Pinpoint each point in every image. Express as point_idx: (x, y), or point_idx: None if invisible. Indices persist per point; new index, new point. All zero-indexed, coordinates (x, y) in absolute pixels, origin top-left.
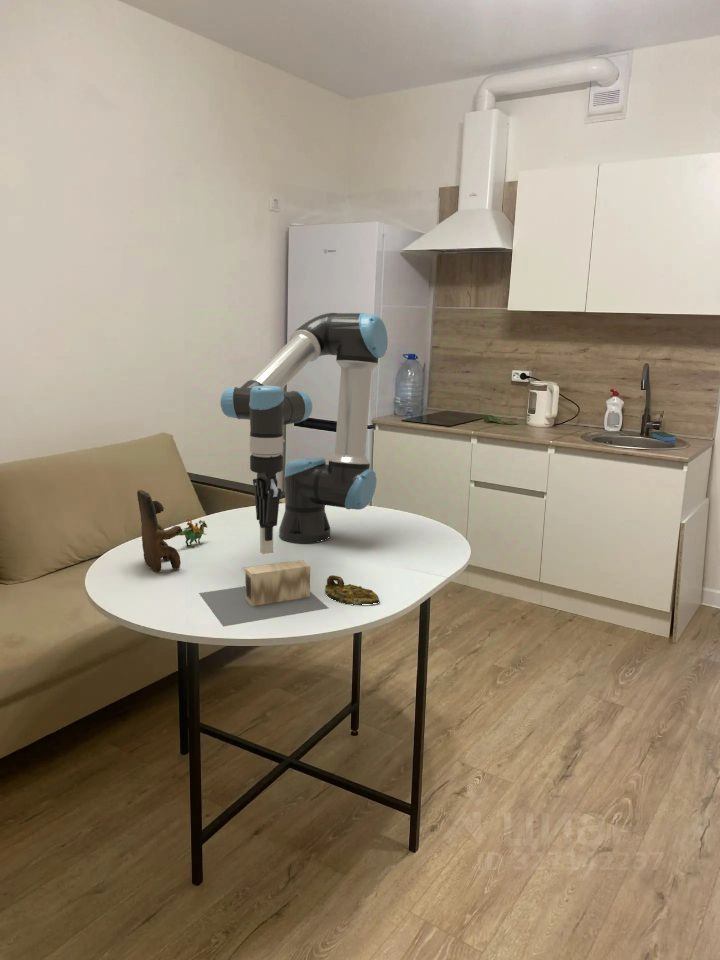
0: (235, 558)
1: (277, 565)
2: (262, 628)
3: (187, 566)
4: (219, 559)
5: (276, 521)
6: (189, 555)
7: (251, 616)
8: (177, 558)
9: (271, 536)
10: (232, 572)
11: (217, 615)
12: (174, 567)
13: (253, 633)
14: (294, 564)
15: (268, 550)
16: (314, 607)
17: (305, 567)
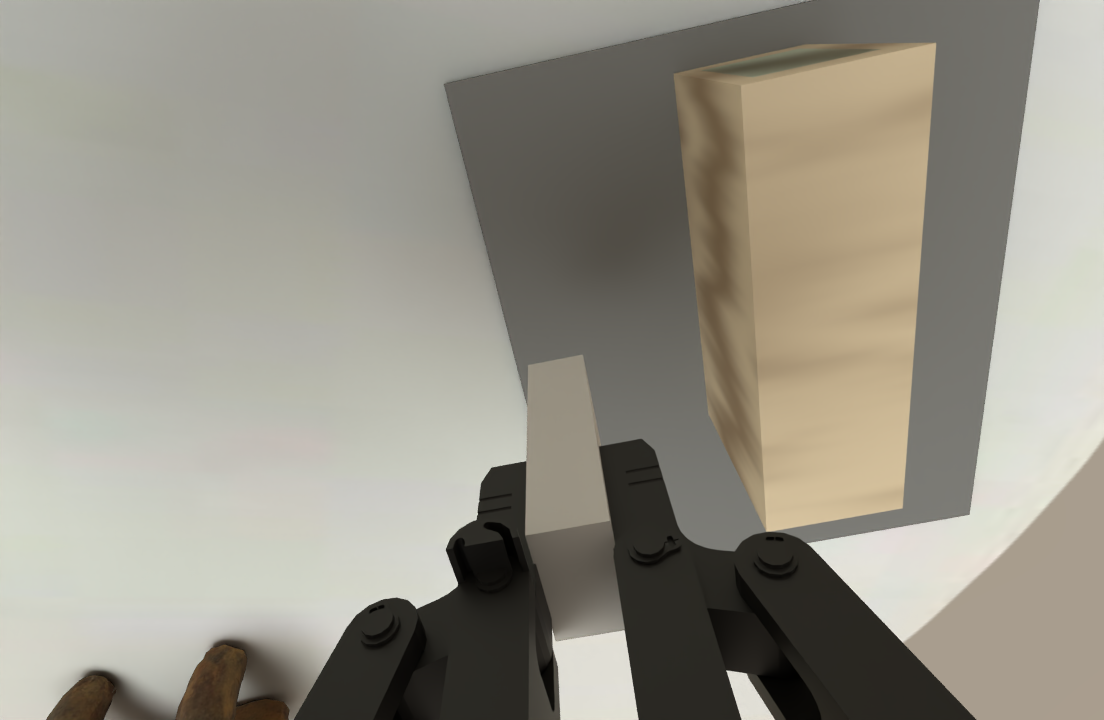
0: (16, 409)
1: (802, 333)
2: (1057, 368)
3: (186, 613)
4: (52, 487)
5: (847, 594)
6: (8, 607)
7: (929, 407)
8: (226, 701)
9: (658, 471)
10: (275, 439)
11: (850, 529)
12: (245, 669)
13: (1083, 408)
14: (834, 192)
15: (592, 404)
16: (987, 53)
17: (928, 98)
